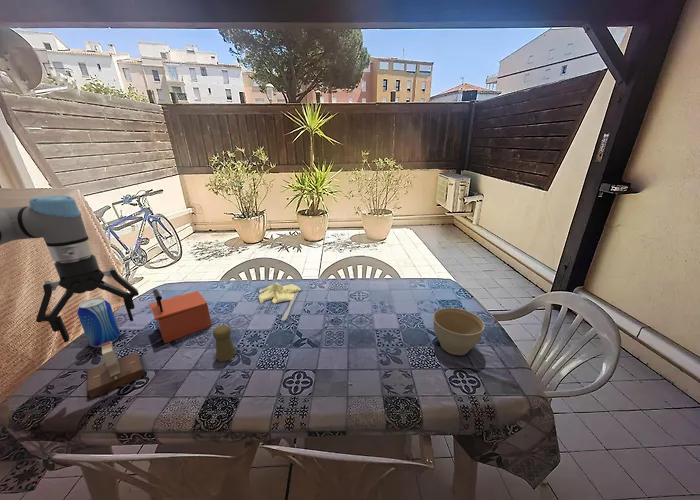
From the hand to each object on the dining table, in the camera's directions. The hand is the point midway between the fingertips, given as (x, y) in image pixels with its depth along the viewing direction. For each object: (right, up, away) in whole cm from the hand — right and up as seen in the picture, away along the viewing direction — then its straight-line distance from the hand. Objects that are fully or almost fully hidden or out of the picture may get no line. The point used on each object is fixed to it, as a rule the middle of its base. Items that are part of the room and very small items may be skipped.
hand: (101, 328), depth 76 cm
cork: (+28, -13, +15) cm, 35 cm away
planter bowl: (+106, -12, +19) cm, 109 cm away
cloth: (+34, +1, +54) cm, 64 cm away
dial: (0, -13, +5) cm, 14 cm away
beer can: (-18, -11, +21) cm, 30 cm away
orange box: (+6, -8, +29) cm, 31 cm away
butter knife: (+43, -2, +46) cm, 63 cm away
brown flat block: (0, -16, +6) cm, 17 cm away
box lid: (+5, +1, +26) cm, 26 cm away
